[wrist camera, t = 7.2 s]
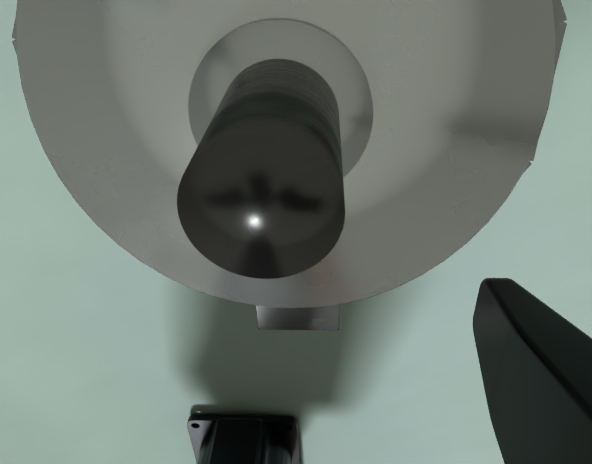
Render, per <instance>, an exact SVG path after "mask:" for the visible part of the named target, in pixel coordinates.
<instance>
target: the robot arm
mask: <svg viewBox="0 0 592 464" xmlns="http://www.w3.org/2000/svg"><path fill="white" fill-rule="evenodd" d="M473 332H474V337H475V342H476V348H477V353H478V358H479V363H480V368H481V373H482V378H483V383H484V388H485V394H486V399H487V404H488V408H489V413H490V418H491V421H492V425H493V428H494V432H495V435H496V438H497V441H498V444H499V448H500V451H501V454H502V457H503V460H504V463H505V464H592V338H590V337H589V336H588V335H586V334H585V333H584V332H582V331H581V330H580V329H578V328H577V327H576V326H574V325H573V324H572V323H570V322H569V321H567V320H566V319H565V318H563V317H562V316H561V315H559V314H558V313H557V312H555V311H554V310H553V309H551V308H550V307H549V306H547V305H546V304H545V303H543V302H542V301H540V300H539V299H538V298H536V297H535V296H534V295H532V294H531V293H530V292H528V291H527V290H526V289H524V288H523V287H522V286H520V285H519V284H517V283H516V282H515V281H513V280H511V279H508V278H486V279H484V280H483V281H482V283H481V285H480V288H479V293H478V297H477V302H476V307H475V311H474V316H473ZM187 427H188V431H189V435H190V439H191V442H192V446H193V450H194V454H195V458H196V462H197V464H300V459H299V443H298V427H297V420H296V419H295V418H294V417H291V416H249V415H191V416H190V417H189V419H188V423H187Z"/></svg>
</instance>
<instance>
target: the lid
mask: <svg viewBox="0 0 592 464" xmlns="http://www.w3.org/2000/svg"><path fill="white" fill-rule="evenodd" d="M555 46H556V32H555V22H554V12H553V1H552V0H18V1H17V10H16V47H17V58H18V65H19V71H20V78H21V84H22V89H23V93H24V96H25V100H26V103H27V107H28V110H29V114H30V117H31V121H32V123H33V125H34V128H35V130H36V133H37V135H38V137H39V140H40V142H41V145H42V147H43V149H44V151H45V153H46V155H47V157H48V159H49V160H50V162H51V164H52V166H53V168H54V169H55V171H56V173H57V175H58V177H59V178H60V180H61V181H62V182H63V184H64V185H65V187H66V188H67V189H68V191H69V192H70V194H71V195H72V196H73V198H74V199H75V201H76V202H77V203H78V204H79V206H80V207H81V208H82V209H83V210H84V211H85V212H86V213H87V215H88V216H89V217H90V218H91V219H92V220H93V221H94V222H95V224H96V225H97V226H98V227H99V228H101V229H102V230H103V231H104V232H105V233H106V234H107V235H108V236H109V237H110V238H111V239H113V240H114V241H115V242H116V243H117V244H118V245H119V246H121V247H122V248H123V249H125V250H126V251H127V252H129V253H130V254H131V255H133V256H134V257H135V258H137V259H138V260H139V261H141V262H143V263H144V264H146V265H148V266H149V267H151V268H153V269H154V270H156V271H158V272H159V273H161V274H163V275H164V276H166V277H168V278H170V279H173V280H175V281H177V282H179V283H181V284H183V285H185V286H187V287H190V288H192V289H195V290H198V291H201V292H204V293H206V294H209V295H212V296H215V297H219V298H223V299H227V300H231V301H235V302H239V303H244V304H251V305H257V306H264V307H279V308H308V307H322V306H329V305H336V304H343V303H348V302H352V301H356V300H360V299H364V298H368V297H371V296H374V295H377V294H380V293H382V292H385V291H388V290H391V289H393V288H396V287H398V286H400V285H402V284H404V283H406V282H409V281H411V280H413V279H415V278H417V277H419V276H421V275H422V274H424V273H426V272H427V271H429V270H430V269H432V268H434V267H435V266H437V265H438V264H440V263H442V262H443V261H445V260H446V259H447V258H449V257H450V256H451V255H452V254H454V253H455V252H456V251H457V250H459V249H460V248H461V247H463V246H464V245H465V244H466V243H468V242H469V241H470V240H471V239H472V238H473V237H474V236H475V235H476V234H477V233H478V232H479V231H480V230H481V229H482V228H483V227H484V226H485V225H486V224H487V223H488V222H489V220H490V219H491V218H492V217H493V215H494V214H495V213H496V212H497V210H498V209H499V208H500V207H501V205H502V204H503V203H504V202H505V200H506V199H507V198H508V196H509V195H510V193H511V191H512V190H513V188H514V186H515V185H516V183H517V182H518V180H519V178H520V177H521V175H522V174H523V172H524V170H525V168H526V166H527V164H528V161H529V159H530V157H531V155H532V153H533V151H534V148H535V146H536V144H537V142H538V139H539V136H540V133H541V130H542V126H543V123H544V120H545V117H546V114H547V111H548V106H549V101H550V95H551V90H552V84H553V78H554V70H555Z"/></svg>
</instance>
